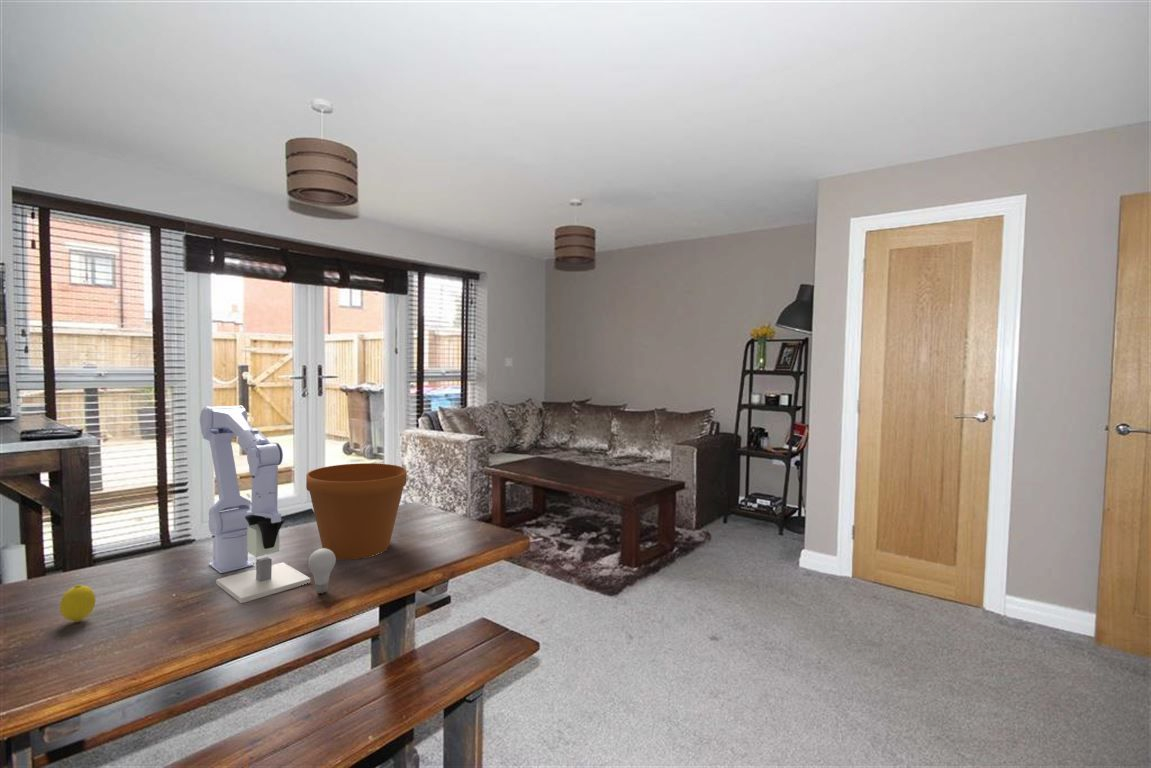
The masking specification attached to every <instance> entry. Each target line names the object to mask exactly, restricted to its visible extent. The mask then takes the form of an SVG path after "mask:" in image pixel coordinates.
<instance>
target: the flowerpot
mask: <svg viewBox="0 0 1151 768" xmlns="http://www.w3.org/2000/svg"><path fill="white" fill-rule="evenodd" d="M407 472H408V471H407V469H406V467H403V466H400V465H396V464H391V463H390V464H388V463H387V464H386V463H370V462H369V463H368V462H365V463H364V462H362V463H346V464H336V465H335V464H334V465H329V466H323V467H318V468H316V469H313V470H310V471H308V472H306V479H305V480H306V484H305V486H306V488H305V489H306V490H307V491H308V492H309V494H310V496H309V497H310V499H311V503H312V504H311V505H312V508H313V513H314V518H315V522H316V526H317V530H318V531H317V532H318V534H319V535H318V536H319V538H320V539H319V540H320V542H321V543H320V544H321V547H322V548H326V549H329V550H331V551H332V552H333V553H334V554H335V557H336V560H340V559H344V560H343V561H347V560H348V561H350V560H349V559H354V560H360V559H359V558H363V559H366V558H365V557H368V558H370V557H369V556H372V555H376V554H378V553H381V552H383V551H385V550H386V549H387V548H388V547H389V548H390V544H391V539H392V536H393V533H394V527H395V523H396V519H397V515H398V511H399V506H400V502H401V498H402V494H403V491H404V488H405V486H406V485H407ZM389 548H388V549H389ZM388 549H387V550H388ZM387 550H386V551H387ZM386 551H385V552H386ZM383 553H384V552H383ZM381 554H382V553H381ZM376 556H377V555H376ZM372 557H373V556H372ZM346 559H347V560H346Z"/></svg>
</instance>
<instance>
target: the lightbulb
mask: <svg viewBox="0 0 1151 768" xmlns="http://www.w3.org/2000/svg"><path fill="white" fill-rule="evenodd" d="M336 560H337V559H336V557H335V554H334V553H333V552H332V551H331V550H329V549H326V548H318V549H316V550H314V551H313V552H312V553H311V554H310V556H309V558H308V563H307V564H308V569H309V570H310V572H311V574H312V575H313V579H314V584H315V592H317V593H318V594H320V593H321V594H325V592H328V586H329V585H328V584H329V581H330V576H331V572H332V570H333V569H334V567H335V565H336Z"/></svg>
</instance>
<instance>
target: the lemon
mask: <svg viewBox="0 0 1151 768" xmlns="http://www.w3.org/2000/svg"><path fill="white" fill-rule="evenodd" d="M95 605H96V596H95V592H94V590H93V589H92V588H91V587H90V586H87V585H82V584H76V585H75V586H73V587H71V588H70V589H68V590H67V591H65V593H63V595H62V598H61V599H60V604H59V611H60V614H61V616H62V617H63V618H64V619H65V620H68V621H74V623H79V622H81V621H82V620H83V619H84V618H86V617H87V616H89V615H90V614H91V613H92V612H93V610H94V608H95Z"/></svg>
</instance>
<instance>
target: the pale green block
mask: <svg viewBox="0 0 1151 768" xmlns="http://www.w3.org/2000/svg"><path fill="white" fill-rule="evenodd" d="M247 552H248V554H250V555H252V556H254V557H255V558H258V557H262V556H265V555H270V554H274V553H277V552H278V553H279V552H280V531H279V532H278V535H277V538H276V542H275V545H274V547H272V548H268V549H264V546H263V540H262V534H261V530H260V528H259V526H258V524H255V525H250V526H247Z"/></svg>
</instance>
